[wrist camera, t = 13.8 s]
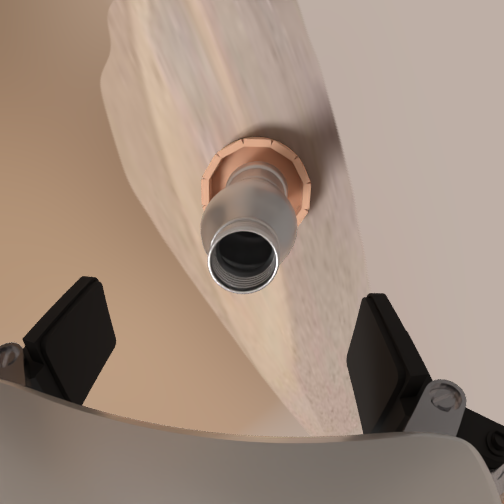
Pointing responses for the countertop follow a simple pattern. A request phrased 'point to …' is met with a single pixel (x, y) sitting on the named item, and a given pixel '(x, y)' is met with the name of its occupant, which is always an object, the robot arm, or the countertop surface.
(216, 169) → the round tray
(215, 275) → the plastic bottle
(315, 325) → the countertop surface
